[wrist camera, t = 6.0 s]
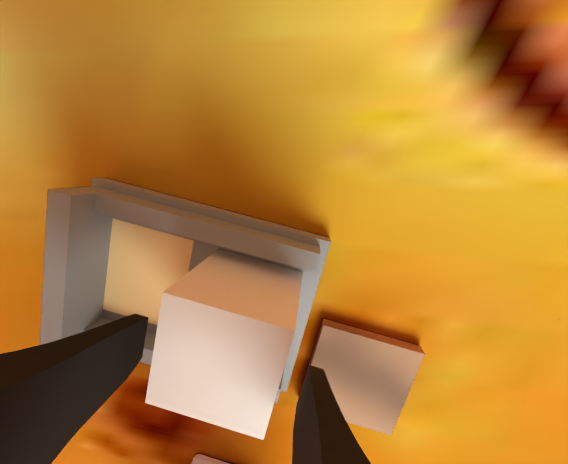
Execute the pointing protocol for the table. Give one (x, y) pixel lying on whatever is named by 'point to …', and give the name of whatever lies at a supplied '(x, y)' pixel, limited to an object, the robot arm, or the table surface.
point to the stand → (366, 373)
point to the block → (225, 341)
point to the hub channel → (152, 256)
